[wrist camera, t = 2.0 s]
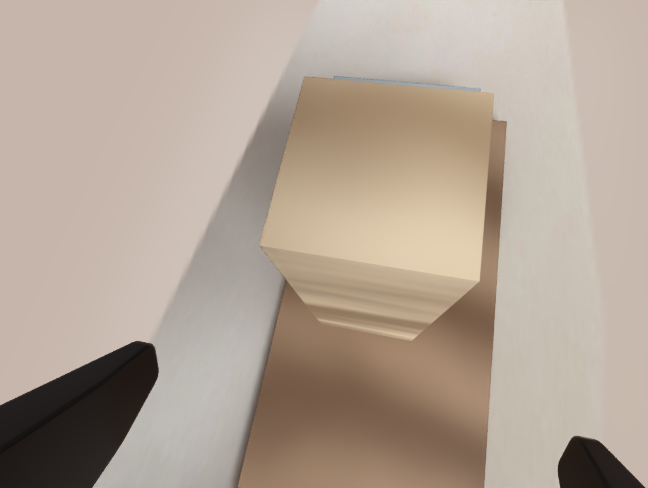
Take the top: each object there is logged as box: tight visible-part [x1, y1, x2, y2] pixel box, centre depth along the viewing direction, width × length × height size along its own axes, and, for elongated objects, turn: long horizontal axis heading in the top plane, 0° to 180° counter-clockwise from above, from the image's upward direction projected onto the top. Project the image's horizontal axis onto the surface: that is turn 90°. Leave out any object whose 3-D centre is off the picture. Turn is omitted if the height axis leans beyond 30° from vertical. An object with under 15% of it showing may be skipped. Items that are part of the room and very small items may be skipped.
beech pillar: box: [259, 77, 494, 341], centre depth 14 cm, size 4×4×12 cm
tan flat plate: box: [237, 120, 507, 488], centre depth 20 cm, size 22×10×1 cm, turn 169°
